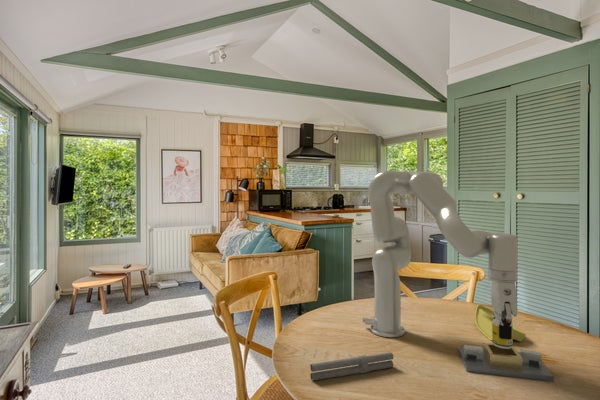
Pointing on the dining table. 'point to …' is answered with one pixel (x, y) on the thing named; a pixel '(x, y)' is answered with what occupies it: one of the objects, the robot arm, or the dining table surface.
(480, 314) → the plastic component
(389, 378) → the dining table surface
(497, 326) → the supplement bottle
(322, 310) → the dining table surface
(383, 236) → the robot arm
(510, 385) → the dining table surface
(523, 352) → the stand
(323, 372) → the metal rod assembly
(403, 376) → the dining table surface
